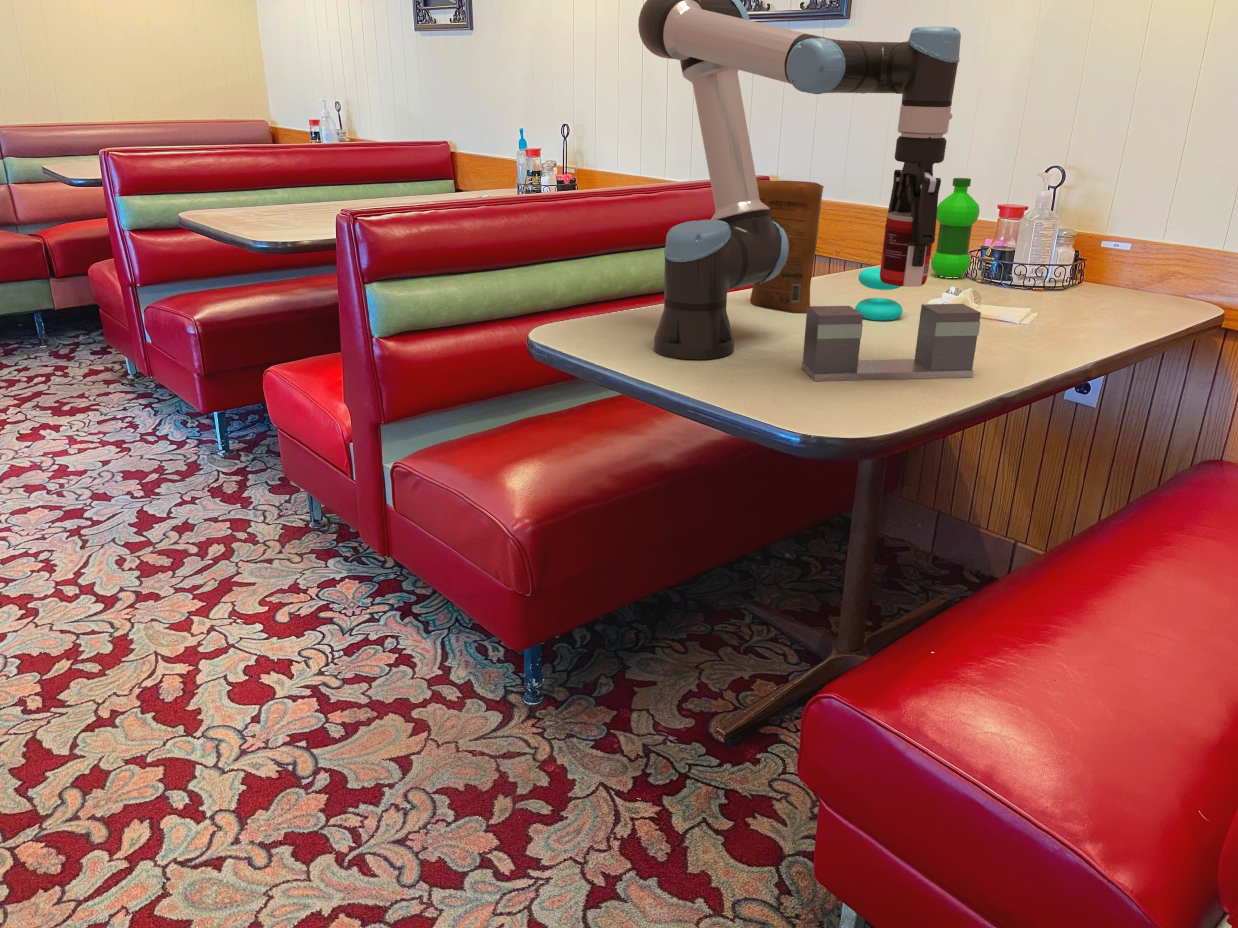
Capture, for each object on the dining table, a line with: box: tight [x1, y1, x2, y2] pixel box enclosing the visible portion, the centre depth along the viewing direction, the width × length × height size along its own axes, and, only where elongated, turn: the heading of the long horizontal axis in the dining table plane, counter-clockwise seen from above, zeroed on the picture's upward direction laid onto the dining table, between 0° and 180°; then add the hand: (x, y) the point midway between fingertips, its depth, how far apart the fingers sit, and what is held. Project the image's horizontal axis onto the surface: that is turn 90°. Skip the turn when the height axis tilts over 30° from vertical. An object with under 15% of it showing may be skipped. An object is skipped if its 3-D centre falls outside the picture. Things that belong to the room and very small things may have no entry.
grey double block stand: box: [801, 303, 982, 382], centre depth 160 cm, size 28×8×11 cm, turn 96°
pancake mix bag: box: [749, 179, 824, 314], centre depth 205 cm, size 7×19×28 cm, turn 46°
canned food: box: [879, 211, 933, 288], centre depth 152 cm, size 8×8×11 cm
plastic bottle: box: [930, 177, 980, 278], centre depth 241 cm, size 10×10×25 cm
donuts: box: [854, 267, 904, 322], centre depth 201 cm, size 10×10×10 cm
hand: (902, 280), depth 154 cm, fingers closed on canned food, 8 cm apart
